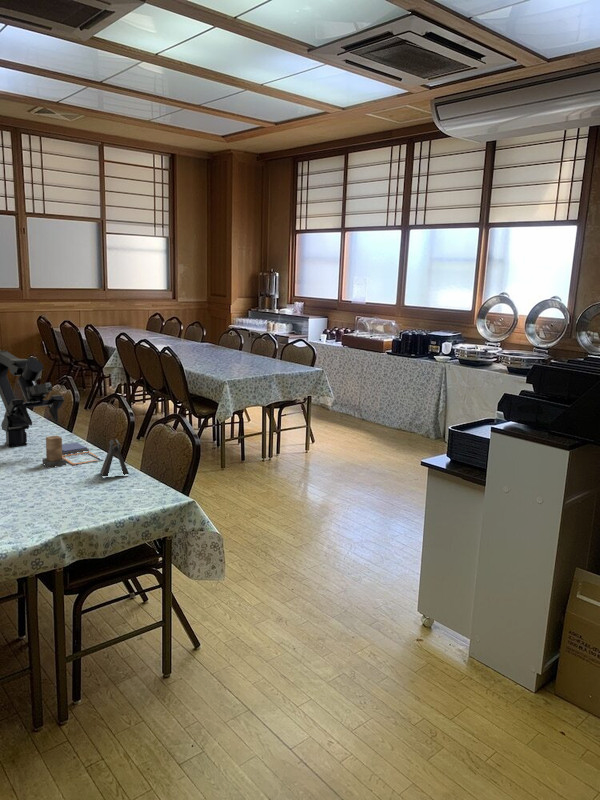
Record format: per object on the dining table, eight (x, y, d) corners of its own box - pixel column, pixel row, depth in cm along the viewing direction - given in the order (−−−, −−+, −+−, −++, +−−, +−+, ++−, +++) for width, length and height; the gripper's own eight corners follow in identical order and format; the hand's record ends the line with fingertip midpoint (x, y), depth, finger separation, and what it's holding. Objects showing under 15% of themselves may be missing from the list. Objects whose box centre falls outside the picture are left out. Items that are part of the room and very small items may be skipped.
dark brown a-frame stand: (101, 478, 204) (101, 443, 202) (100, 473, 209) (100, 439, 207) (129, 476, 207) (129, 442, 205) (127, 471, 213) (127, 438, 211)
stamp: (49, 468, 212) (48, 440, 210) (42, 463, 216) (41, 436, 214) (66, 465, 216) (65, 438, 214) (59, 461, 220) (58, 434, 218)
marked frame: (73, 465, 216) (73, 464, 216) (58, 457, 225) (58, 455, 225) (104, 460, 224) (104, 459, 223) (89, 452, 233) (89, 451, 232)
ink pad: (63, 455, 227) (63, 451, 227) (52, 449, 234) (52, 445, 234) (88, 451, 234) (88, 447, 234) (77, 445, 241) (77, 441, 241)
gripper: (10, 377, 212) (24, 413, 207) (61, 373, 226) (76, 407, 221) (1, 395, 219) (15, 431, 214) (51, 391, 232) (66, 424, 227)
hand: (44, 423), depth 219 cm, fingers open, 9 cm apart
